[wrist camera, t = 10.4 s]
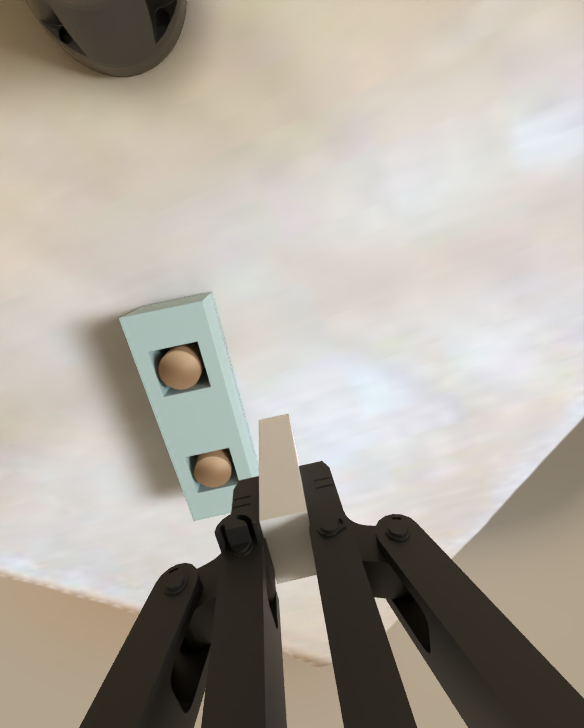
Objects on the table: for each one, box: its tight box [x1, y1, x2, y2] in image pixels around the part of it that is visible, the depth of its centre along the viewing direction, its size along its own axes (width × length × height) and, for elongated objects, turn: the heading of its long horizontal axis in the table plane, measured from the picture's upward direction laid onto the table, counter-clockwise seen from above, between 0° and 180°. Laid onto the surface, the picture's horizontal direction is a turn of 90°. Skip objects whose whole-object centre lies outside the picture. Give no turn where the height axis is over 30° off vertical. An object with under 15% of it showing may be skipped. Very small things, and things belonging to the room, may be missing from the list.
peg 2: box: [194, 448, 233, 487], centre depth 47 cm, size 5×5×8 cm
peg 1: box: [158, 341, 205, 390], centre depth 42 cm, size 5×5×8 cm
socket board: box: [119, 292, 259, 521], centre depth 45 cm, size 28×9×8 cm, turn 11°
